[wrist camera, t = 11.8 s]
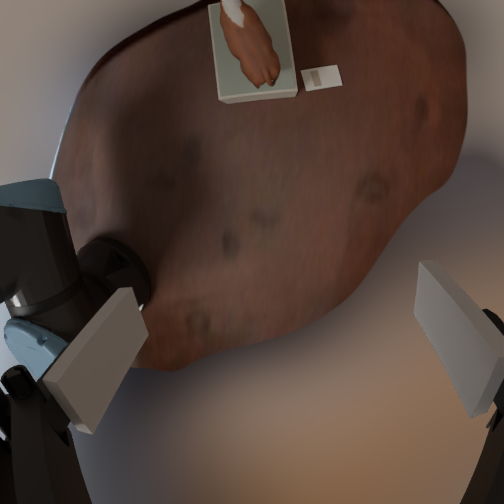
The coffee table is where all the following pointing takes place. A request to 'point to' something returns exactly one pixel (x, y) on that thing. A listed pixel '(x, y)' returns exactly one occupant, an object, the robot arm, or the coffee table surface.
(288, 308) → the coffee table surface
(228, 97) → the plinth
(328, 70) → the page
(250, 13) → the bull figurine
